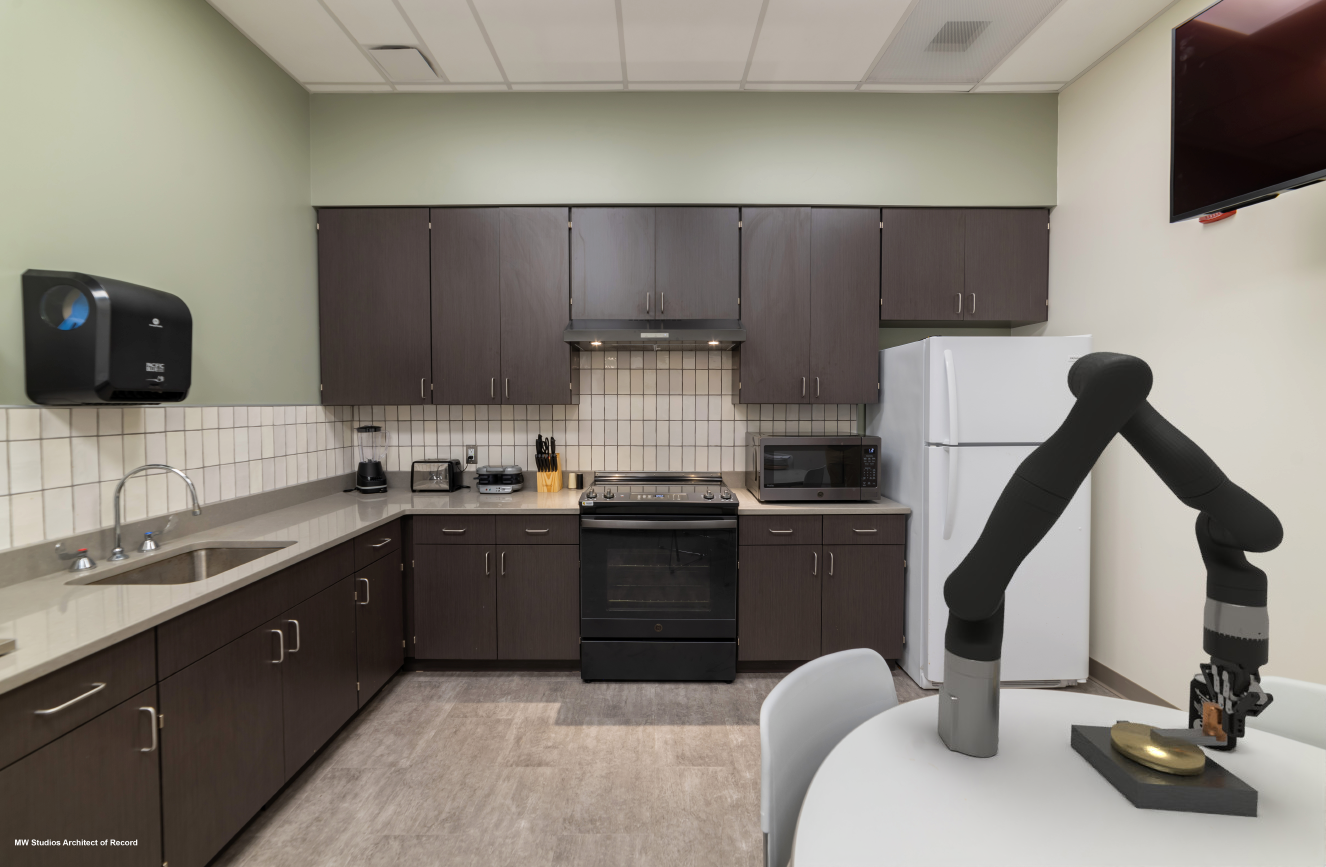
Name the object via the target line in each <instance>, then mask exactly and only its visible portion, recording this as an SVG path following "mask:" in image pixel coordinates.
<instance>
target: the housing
mask: <svg viewBox="0 0 1326 867" xmlns="http://www.w3.org/2000/svg"><path fill="white" fill-rule="evenodd" d="M1111 727H1112V726H1099V725H1086V724H1085V725H1082V724H1071V725H1070V747H1071V748H1072V749H1073V750H1074V751H1075V752H1076V753H1078V754H1079V756H1081V757H1082V758H1083V759H1084V760H1085V761H1086V762H1087V763H1088V764H1089V765H1090V766H1091V767H1093V768H1094V769H1095V770H1096V771H1097V772H1098V773H1099V774H1100V775H1101V777H1103V778H1105V779H1106V781H1108V782H1109V783H1110V784H1111V785H1112V786H1113V787H1114V788H1115V789H1116V790H1117V791H1118V792H1120V793H1121V794H1122V795H1123V796H1124V797H1125V798H1126V799H1127V800H1128V802H1130V803H1131V804H1132V805H1133V806H1134V807H1136V808H1137V809H1148V810H1157V811H1159V810H1161V811H1172V812H1173V811H1175V812H1188V813H1200V814H1213V815H1226V816H1237V817H1238V816H1239V817H1252V818H1258V802H1259V801H1258V800H1259V791H1258V790H1257V789H1255V788H1254V787H1252V786H1251V785H1249V784H1248V783H1246V781H1244V780H1242V779H1241V778H1240V777H1238V776H1236V775H1235V774H1234V773H1232V772H1231V771H1229V770H1228V769H1227V768H1225V767H1224V766H1223V765H1221V764H1219V763H1218V762H1216V761H1215V760H1214V759H1212V758H1211V757H1210V756H1208V755H1206V754H1205V769H1204V771H1203V772H1202V773H1200V774H1197V775H1180V774H1173V773H1168V772H1164V771H1160V770H1157V769H1154V768H1151V767H1148V766H1145V765H1143V764H1140V763H1138V762H1136V761H1134V760H1132V759H1130V758H1128V757H1127V756H1125V755H1123V754H1122V753H1120V752H1119V751H1118V750H1117V749H1116V748H1115V747H1114V746H1113V745H1112V743H1111Z"/></svg>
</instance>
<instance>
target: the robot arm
mask: <svg viewBox="0 0 1326 867" xmlns="http://www.w3.org/2000/svg"><path fill="white" fill-rule="evenodd" d="M1066 383H1067V386H1068V389H1069V391H1070V393H1071V394H1072V396H1073V397H1074V398H1075V399H1076V400H1075V402H1074V403H1073V405H1072V408H1071V409H1070V411H1069V413H1067V416H1066V418H1064V421H1063V422H1062V424H1061V425H1060V426H1059V427H1058V429H1057V430H1055V432H1053V434H1052V435H1051V436H1049V437H1048V438H1047V439H1045V441H1043V443H1041V444H1040V445H1039V446H1038V447H1037V448H1035V449H1034V450H1033V451H1031V453H1029V454H1028V455H1027V456H1026V457H1025V458H1024V459H1023V461H1021V462H1020V464H1019V465H1018V466H1017V467H1016V468H1015V470H1014V472H1013V474H1012V476H1011V477H1010V479H1009V480H1008V482H1007V483H1006V485H1005V487H1004V488H1003V490H1002V492H1001V494H1000V495H999V496H998V499H997V501H996V502H995V504H994V506H993V508H992V511H991V512H990V514H989V516H988V518H987V521H986V522H985V525H984V527H983V529H982V532H981V533H980V535H979V536H978V539H977V540H976V542H975V544H974V545H973V547H972V548H971V549H970V551H969V552H968V553H967V554H966V555H965V557H964V558H963V559H962V560H961V561H960V563H959V564H958V566H956V568H954V570H952V572H951V573H950V574H948V576H947V577H946V579H945V581H944V584H943V587H942V588H943V589H942V590H943V599H944V602H945V605H946V607H947V608H948V617H947V623H946V628H945V633H944V649H943V650H944V651H943V652H944V653H943V654H944V655H943V658H944V659H943V683H939V684H938V706H937V707H938V709H937V710H938V713H937V733H938V735H939V736H940V737H941V739H942V740H943V742H944V743H945V745H946V747H947V748H948V749H949V751H956V752H959V753H962V754H965V755H969V756H972V757H980V758H982V757H983V758H985V757H986V758H989V757H993V756H995V755H997V753H998V752H999V741H1000V740H999V739H1000V737H999V735H1000V734H999V733H1000V732H999V730H1000V729H999V728H1000V701H1001V700H1000V698H1001V696H1000V695H1001V669H1002V665H1001V664H1002V647H1003V641H1004V631H1005V630H1004V628H1005V608H1006V607H1005V606H1006V590H1007V588H1008V586H1009V585H1010V583H1011V580H1012V579H1013V577H1014V575H1015V573H1016V572H1017V570H1018V569H1019V567H1020V565H1021V564H1022V563H1023V561H1025V558H1027V556H1029V554H1030V553H1031V552H1032V551H1033V550H1034V549H1035V548H1036V547H1037V546H1038V545H1039V544H1040V542H1041V541H1042V540H1043V539H1044V537H1046V535H1047V534H1048V533H1049V532H1050V530H1052V528H1053V527H1054V525H1056V523H1057V521H1058V520H1059V519H1060V517H1061V516H1062V514H1063V513H1064V512H1065V510H1066V508H1068V506H1069V504H1070V503H1071V501H1072V500H1073V498H1074V497H1075V495H1076V493H1077V491H1078V490H1079V488H1080V487H1081V485H1082V484H1083V482H1084V481H1085V479H1086V478H1087V477H1088V475H1089V474H1090V472H1091V471H1092V470H1093V468H1094V466H1095V465H1096V463H1097V461H1098V460H1099V459H1100V457H1101V455H1102V454H1103V453H1104V451H1105V449H1106V448H1107V447H1108V446H1109V444H1110V443H1111V442H1112V441H1113V440H1114V438H1115V437H1116V435H1118V434H1120V435H1121V437H1122V438H1124V439H1125V440H1126V442H1127V443H1128V444H1130V446H1131V447H1132V448H1133V449H1134V450H1135V452H1137V454H1138V455H1139V456H1140V457H1141V458H1142V459H1143V461H1145V463H1146V464H1147V465H1148V466H1149V467H1150V469H1152V471H1154V473H1155V474H1156V475H1157V477H1158V478H1159V479H1160V480H1161V481H1162V482H1163V483H1164V485H1166V487H1167V488H1168V489H1169V490H1170V491H1171V492H1172V493H1173V494H1174V496H1175V497H1176V498H1177V499H1178V500H1179V501H1180V502H1181V503H1182V504H1184V505H1185V506H1187V507H1188V508H1191V509H1194V510H1197V511H1200V512H1199V513H1198V515H1197V517H1196V520H1195V522H1194V523H1195V524H1194V534H1195V538H1196V540H1197V544H1198V548H1199V551H1200V555H1201V559H1202V561H1203V564H1204V566H1205V569H1206V586H1205V587H1206V590H1205V596H1206V597H1205V602H1204V606H1203V607H1204V608H1203V624H1202V626H1203V627H1202V628H1203V630H1202V632H1203V634H1202V635H1203V636H1202V649H1203V651H1204V652H1205V653H1206V654H1207V655H1209V656H1210V657H1209V659H1210V660H1209V662H1208V663H1206V662H1205V663H1204V662H1203V663H1202V662H1200V663H1199V669H1200V671H1201V673H1202V674H1203V676H1204V679H1205V682H1206V684H1207V687H1208V689H1209V692H1210V695H1211V697H1212V699H1213V700H1217V701H1218V704H1219V707H1220V708H1221V709H1222V731H1223V732H1225V733H1226V734H1227V735H1229V736H1230V737H1237V738H1239V739H1243V738H1244V737H1245V735H1246V717H1250V718H1252V717H1253V718H1257V717H1259V716H1260V714H1261V713H1263V712H1264V711H1265V710H1266V709H1267V708H1269V706H1270V705H1271V704H1272V703H1273V701H1274V696H1273V694H1271V693H1270V692H1265V691H1264V690H1263V689H1262V687H1261V685H1260V683H1261V682H1262V678H1261V676H1260V671H1259V670H1260V668H1261V667H1263V666H1266V665H1267V664H1268V663H1269V647H1270V646H1269V644H1270V642H1269V640H1270V618H1269V612H1268V588H1269V587H1268V584H1269V581H1268V575H1267V574H1266V572H1265V571H1264V570H1263V569H1261V568H1260V567H1258V566H1256V565H1254V564H1252V563H1251V562H1249V560H1248V559H1247V557H1246V554H1245V552H1247V553H1254V554H1255V553H1256V554H1263V553H1268V552H1271V551H1273V550H1275V549H1277V548H1278V547H1279V546H1280V545H1281V544H1282V543H1283V539H1284V528H1283V524H1282V522H1281V520H1280V518H1279V517H1278V516H1277V515H1276V513H1274V512H1273V510H1272V509H1271V508H1269V507H1268V506H1267V505H1266V504H1265V503H1263V502H1262V501H1260V500H1259V499H1258V498H1257V497H1255V496H1254V495H1252V494H1251V493H1249V492H1248V491H1247V490H1245V489H1244V488H1242V487H1241V486H1239V485H1237V484H1236V483H1235V482H1233V481H1232V480H1231V479H1230V478H1229V477H1228V476H1227V474H1226V473H1224V471H1223V470H1222V469H1221V467H1219V466H1218V464H1217V463H1216V462H1215V461H1214V460H1213V459H1212V458H1211V457H1210V456H1209V455H1208V454H1207V452H1205V451H1204V450H1203V449H1202V448H1201V447H1200V446H1199V445H1198V444H1197V443H1196V442H1195V441H1193V440H1192V439H1191V438H1190V437H1189V436H1188V435H1186V434H1185V433H1183V432H1182V431H1181V430H1180V429H1178V427H1176V426H1174V425H1173V424H1172V423H1171V422H1170V421H1169V420H1167V418H1165V417H1164V416H1163V415H1162V414H1161V413H1160V412H1159V411H1157V410H1156V408H1155V407H1154V406H1153V405H1152V404H1151V403H1150V402H1149V400H1147V398H1148V397H1149V395H1150V392H1151V390H1152V389H1153V384H1154V374H1153V371H1152V368H1151V367H1150V365H1149V363H1148V362H1146V361H1145V360H1144V359H1142V358H1141V357H1138V356H1134V355H1131V354H1126V353H1119V352H1111V351H1096V352H1090V353H1088V354H1084V355H1082V356H1081V357H1079V358H1078V359H1076V361H1075V362H1073V363H1072V365H1071V367H1070V368H1069V370H1068V373H1067V382H1066Z"/></svg>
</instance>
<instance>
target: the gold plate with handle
mask: <svg viewBox="0 0 1326 867" xmlns="http://www.w3.org/2000/svg"><path fill="white" fill-rule="evenodd" d="M1110 727H1111V743H1112V745H1113V746H1114V747H1115V748H1116V749H1117V750H1118V751H1119V752H1120V753H1122V754H1123V755H1125V756H1127V757H1128V758H1130V759H1132V760H1134V761H1136V762H1138V763H1140V764H1143V765H1145V766H1148V767H1151V768H1154V769H1157V770H1160V771H1164V772H1168V773H1173V774H1180V775H1197V774H1200V773H1202V772H1203V771H1204V769H1205V755H1206V753H1205V751H1204V749H1202V748H1201V747H1200V746H1203V745H1227V734H1226V733H1225V732H1223V731H1222V709H1221V708H1220V707H1219V704H1217V703H1212V702H1204V703H1203V724H1202V729H1188V728H1161V727H1157V726H1153V725H1149V724H1146V723H1145V724H1143V723H1138V722H1130V721H1129V720H1116V723H1115V724H1113V725H1112V726H1110Z"/></svg>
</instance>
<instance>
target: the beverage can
mask: <svg viewBox="0 0 1326 867" xmlns="http://www.w3.org/2000/svg"><path fill="white" fill-rule="evenodd" d="M1188 702H1189V704H1188V724H1187V726H1188V727H1187V729H1202V724H1203V703H1204V702H1212V703H1217V704H1218V701H1217V700H1213V699H1212V697H1211V695H1210V692H1209V689H1208V687H1207V684H1206V682H1205V679H1204V676H1203V674H1202V672H1197V673H1194V674H1193V678H1192V679H1191V680H1190V683H1189V700H1188ZM1237 742H1238V739H1237V737H1230V736H1229V735H1227V745H1202V746H1204V747H1206V748H1208V749H1213V750H1216V751H1220V752H1230V751H1232V750H1233V749H1235V748H1236V747H1237Z"/></svg>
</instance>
